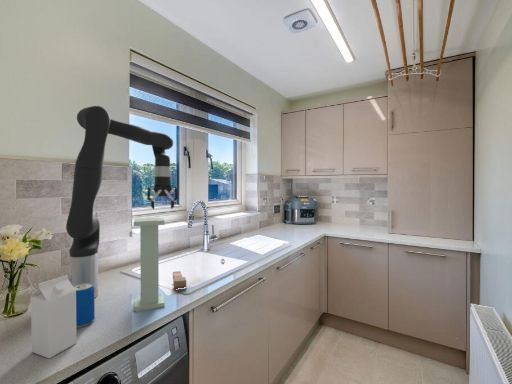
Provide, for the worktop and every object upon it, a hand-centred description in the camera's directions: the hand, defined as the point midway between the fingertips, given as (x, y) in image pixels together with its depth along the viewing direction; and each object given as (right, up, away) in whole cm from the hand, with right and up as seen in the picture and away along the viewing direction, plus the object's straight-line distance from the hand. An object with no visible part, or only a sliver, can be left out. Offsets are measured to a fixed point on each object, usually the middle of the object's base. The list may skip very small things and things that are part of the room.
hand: (162, 208), depth 127 cm
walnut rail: (+11, -34, -10) cm, 37 cm away
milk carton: (-9, -35, -57) cm, 67 cm away
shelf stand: (+7, -34, -31) cm, 46 cm away
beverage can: (-10, -34, -44) cm, 57 cm away
